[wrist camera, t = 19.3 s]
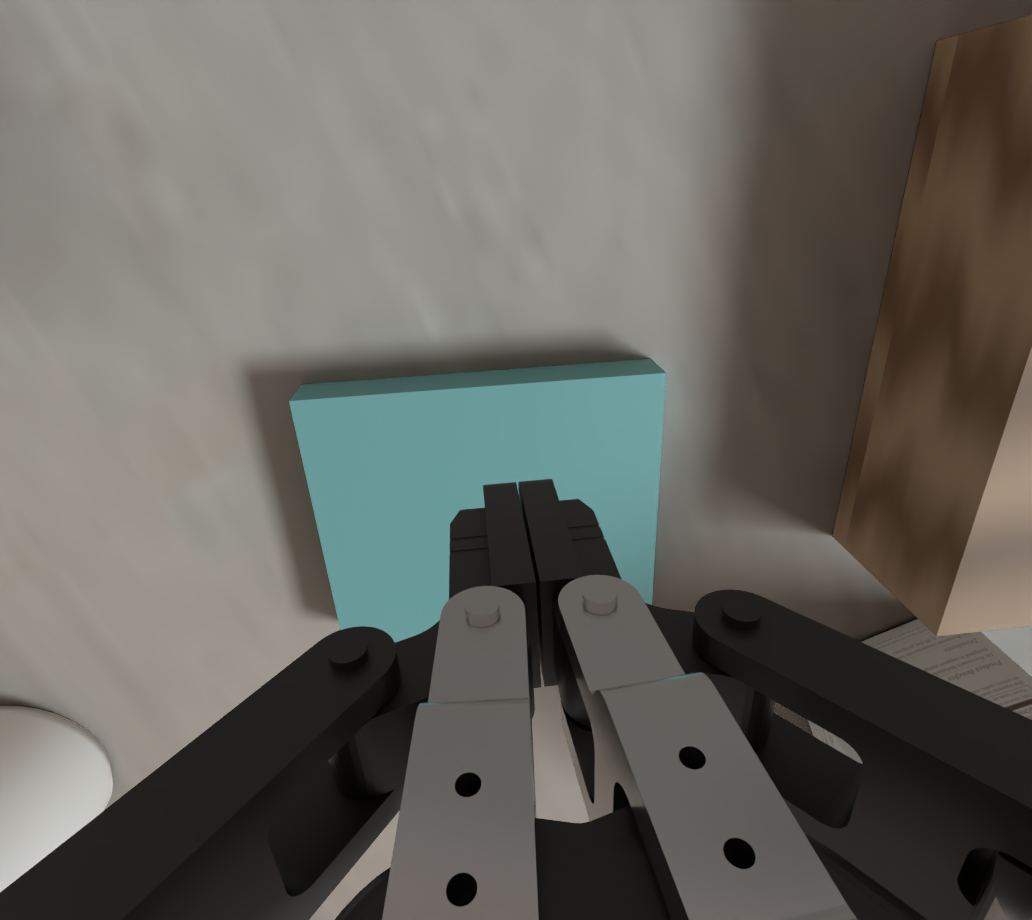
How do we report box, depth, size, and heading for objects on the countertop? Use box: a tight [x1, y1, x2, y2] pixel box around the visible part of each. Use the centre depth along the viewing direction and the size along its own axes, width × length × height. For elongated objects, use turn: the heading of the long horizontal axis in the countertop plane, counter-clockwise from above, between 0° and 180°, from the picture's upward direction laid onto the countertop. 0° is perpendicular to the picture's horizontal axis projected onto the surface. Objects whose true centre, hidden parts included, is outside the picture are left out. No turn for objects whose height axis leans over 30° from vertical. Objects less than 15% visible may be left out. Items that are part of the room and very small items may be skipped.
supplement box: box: [808, 619, 1032, 764], centre depth 27 cm, size 10×9×17 cm
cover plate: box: [289, 359, 666, 642], centre depth 26 cm, size 12×2×14 cm
